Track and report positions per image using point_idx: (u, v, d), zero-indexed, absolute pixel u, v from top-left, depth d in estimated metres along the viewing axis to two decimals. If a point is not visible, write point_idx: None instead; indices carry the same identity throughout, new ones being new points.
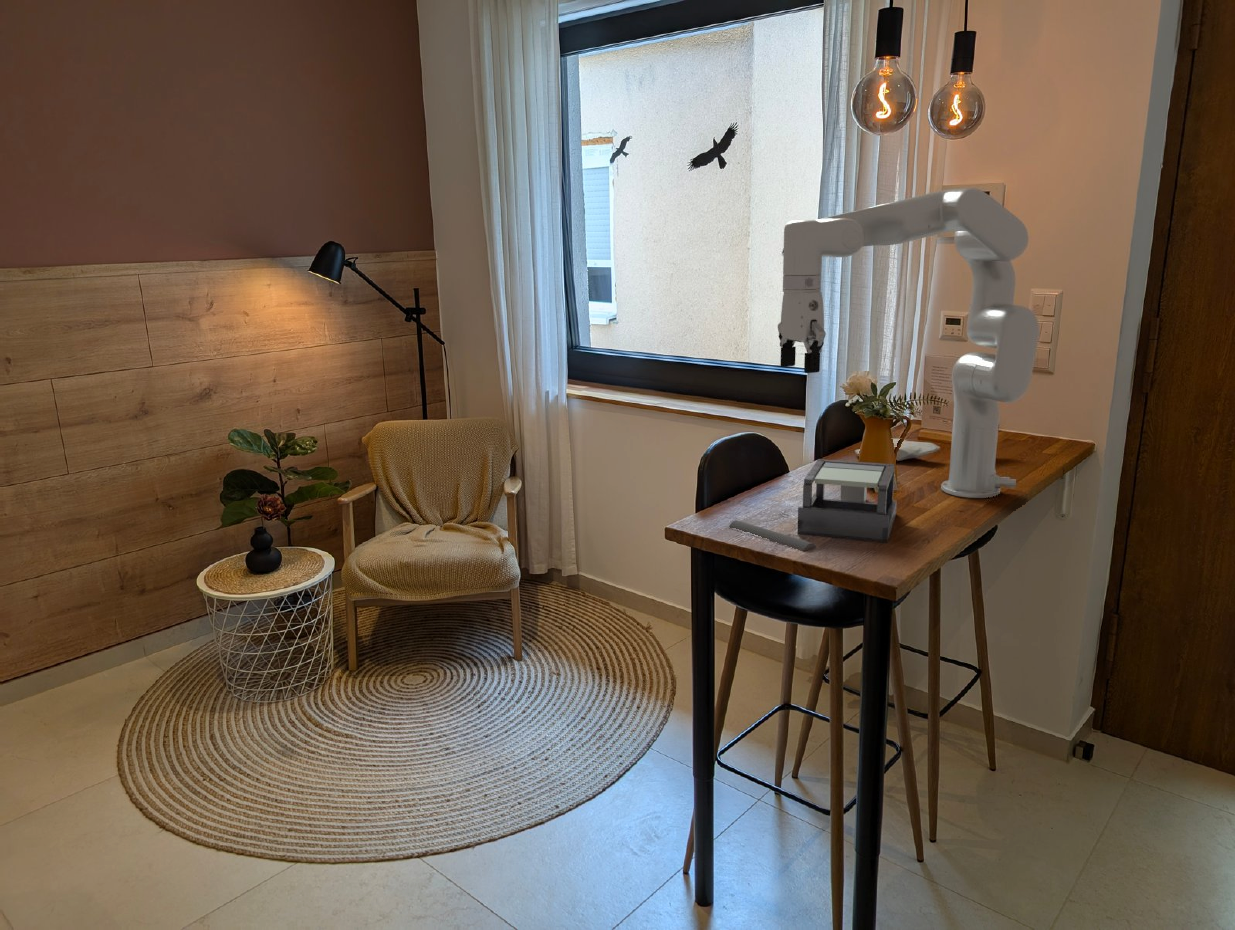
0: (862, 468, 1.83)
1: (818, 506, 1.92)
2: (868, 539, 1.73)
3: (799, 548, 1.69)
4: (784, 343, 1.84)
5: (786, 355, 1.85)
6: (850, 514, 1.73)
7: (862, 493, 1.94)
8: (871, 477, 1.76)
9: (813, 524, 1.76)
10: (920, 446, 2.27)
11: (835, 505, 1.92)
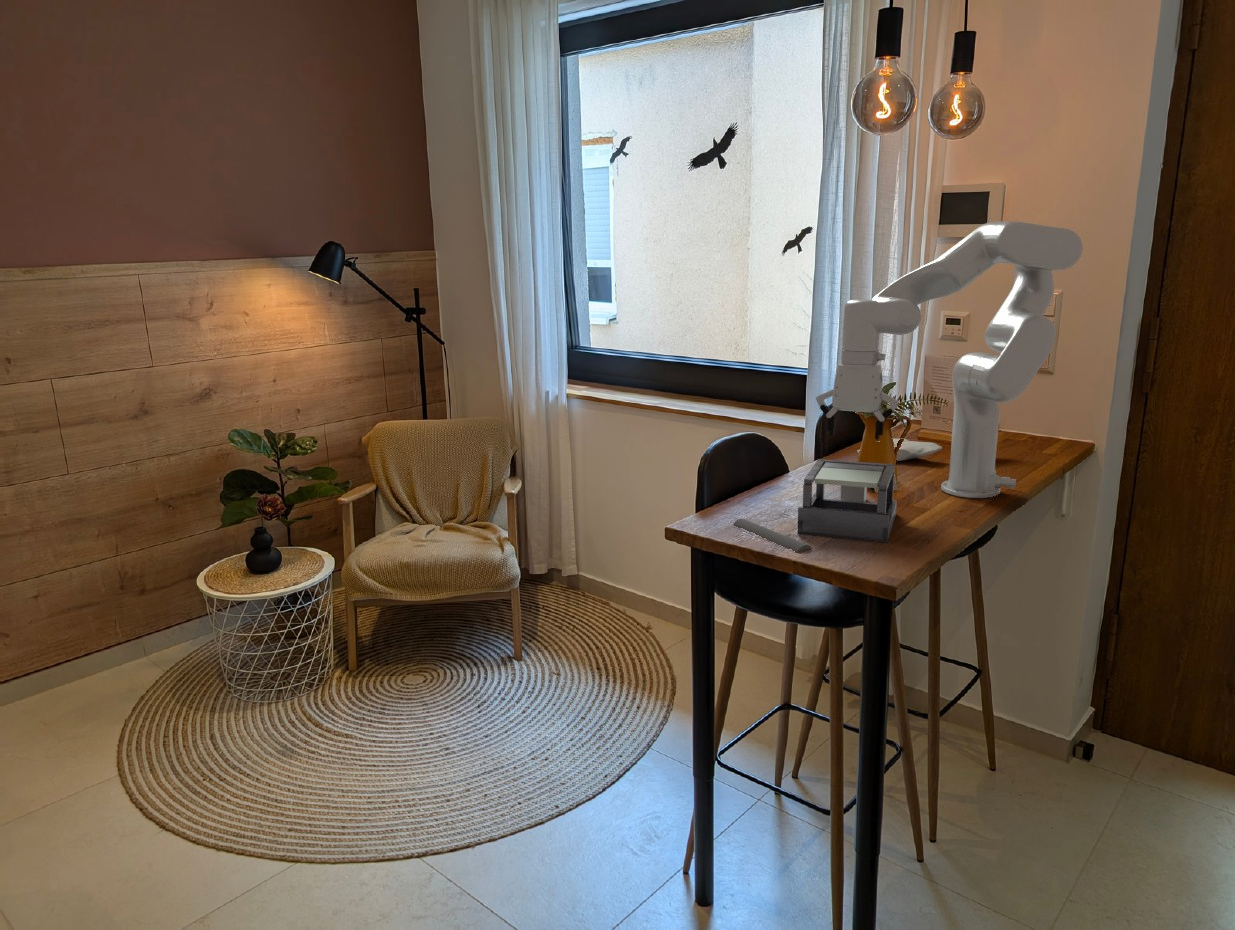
0: (862, 468, 1.83)
1: (818, 506, 1.92)
2: (868, 539, 1.73)
3: (793, 549, 1.68)
4: (833, 414, 1.93)
5: (834, 425, 1.94)
6: (850, 514, 1.73)
7: (862, 493, 1.94)
8: (871, 477, 1.76)
9: (813, 524, 1.76)
10: (922, 446, 2.27)
11: (835, 505, 1.92)
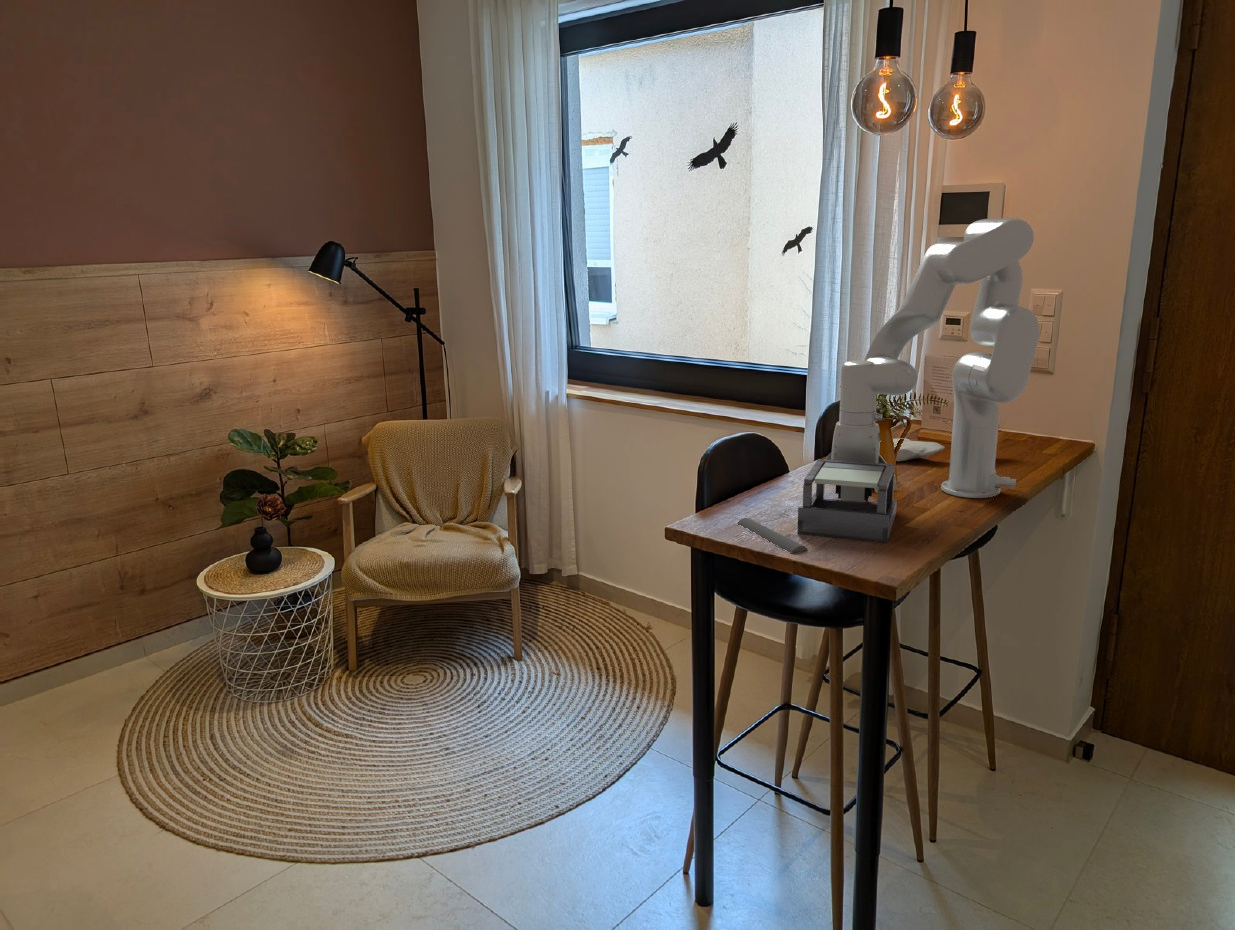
0: (862, 468, 1.83)
1: (818, 506, 1.92)
2: (868, 539, 1.73)
3: (788, 549, 1.68)
4: None
5: None
6: (850, 514, 1.73)
7: (862, 493, 1.94)
8: (871, 477, 1.76)
9: (813, 524, 1.76)
10: (925, 446, 2.27)
11: (835, 505, 1.92)
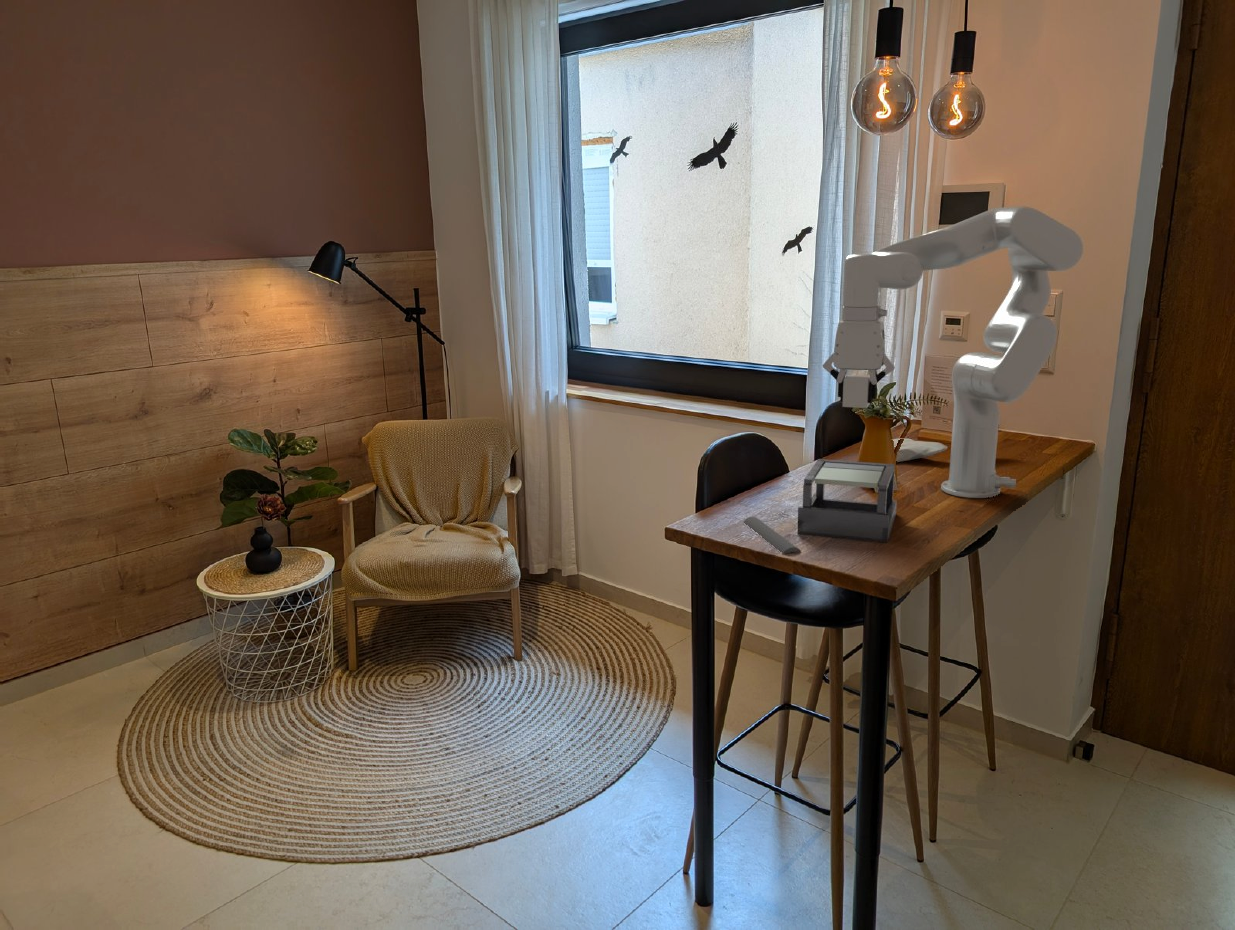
0: (862, 468, 1.83)
1: (818, 506, 1.92)
2: (868, 539, 1.73)
3: (781, 550, 1.68)
4: (843, 377, 1.87)
5: None
6: (850, 514, 1.73)
7: (865, 394, 1.85)
8: (871, 477, 1.76)
9: (813, 524, 1.76)
10: (928, 446, 2.27)
11: (835, 505, 1.92)
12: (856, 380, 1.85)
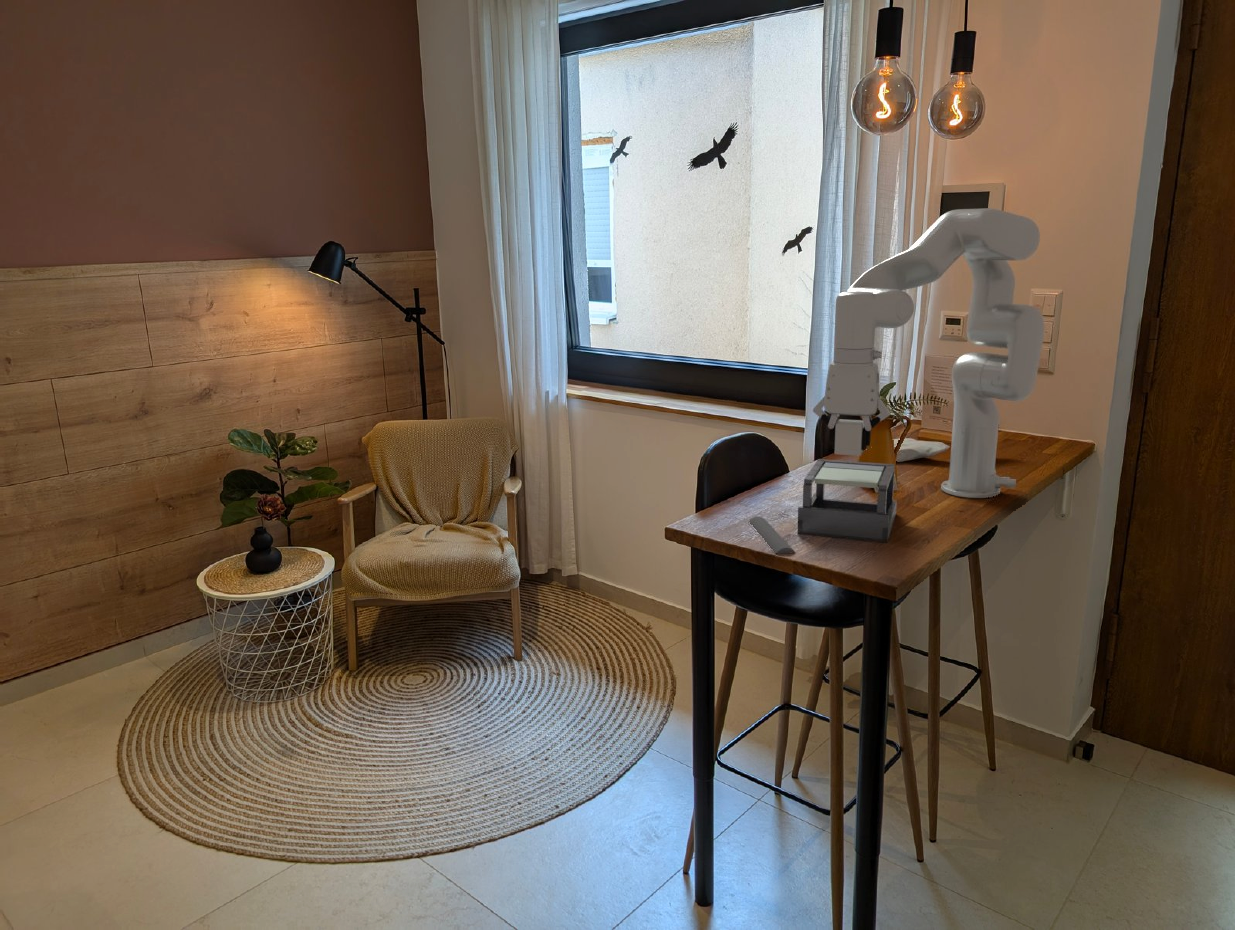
0: (862, 468, 1.83)
1: (818, 506, 1.92)
2: (868, 539, 1.73)
3: (775, 550, 1.68)
4: (835, 422, 1.75)
5: None
6: (850, 514, 1.73)
7: (859, 441, 1.72)
8: (871, 477, 1.76)
9: (813, 524, 1.76)
10: (930, 445, 2.27)
11: (835, 505, 1.92)
12: (849, 426, 1.72)
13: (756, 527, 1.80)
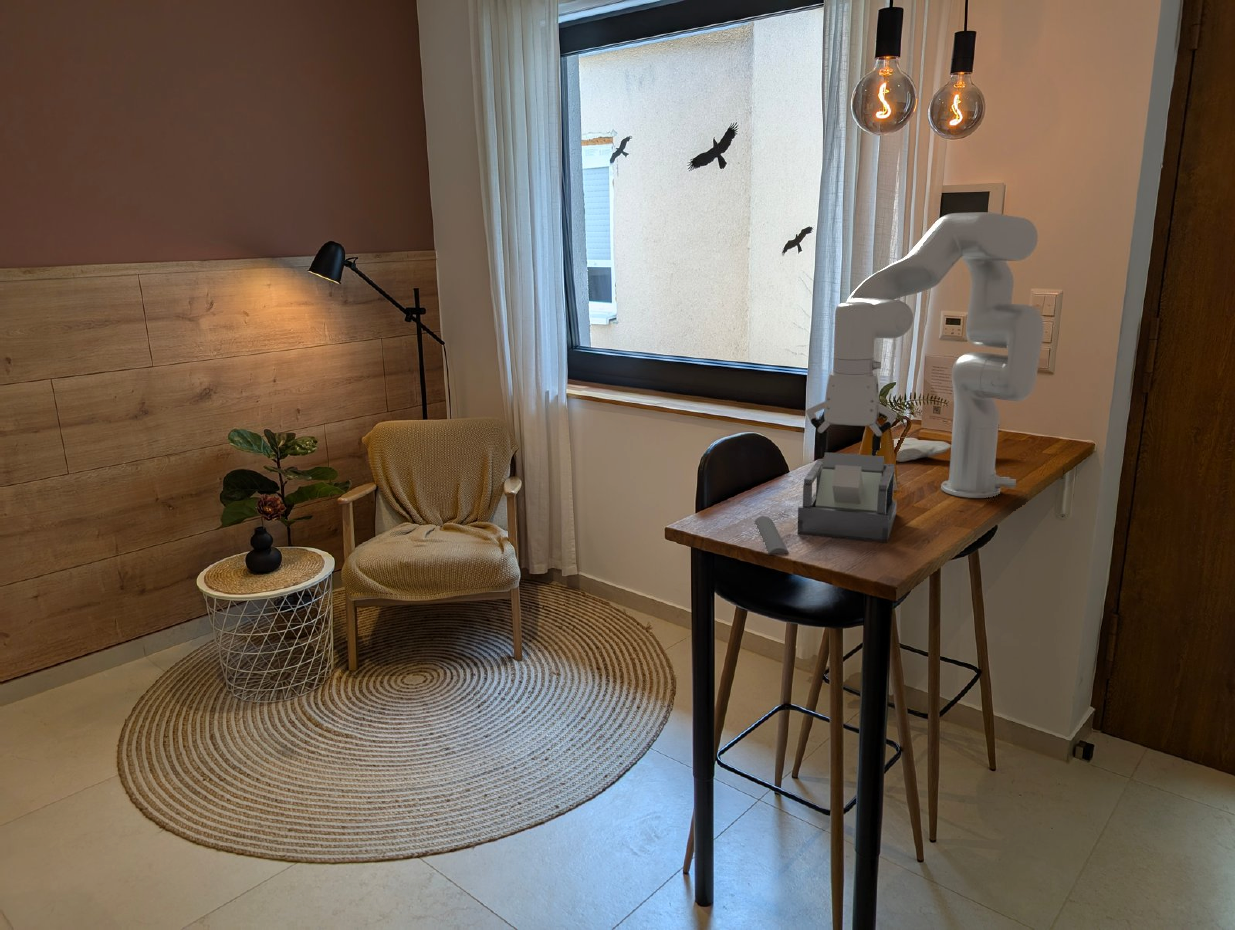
0: (862, 466, 1.82)
1: None
2: (868, 539, 1.73)
3: (768, 550, 1.68)
4: (826, 428, 1.76)
5: (826, 440, 1.77)
6: (850, 514, 1.73)
7: (857, 496, 1.75)
8: (871, 493, 1.78)
9: (813, 524, 1.76)
10: (933, 445, 2.28)
11: None
12: (846, 487, 1.73)
13: (759, 527, 1.81)
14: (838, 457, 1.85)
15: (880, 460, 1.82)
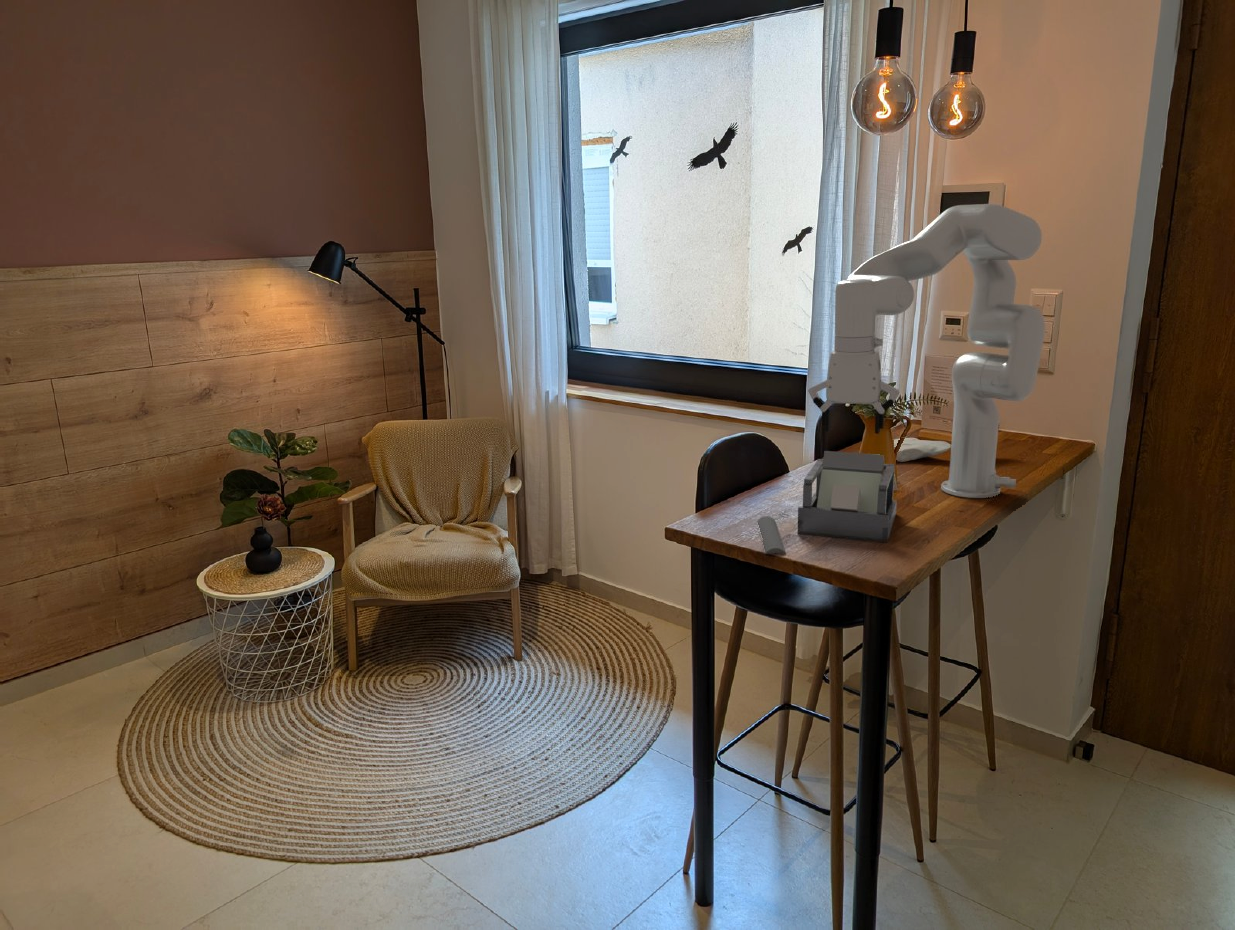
0: (862, 466, 1.82)
1: None
2: (868, 539, 1.73)
3: (765, 550, 1.68)
4: (828, 407, 1.75)
5: (829, 419, 1.76)
6: (850, 514, 1.73)
7: None
8: (871, 496, 1.79)
9: (813, 524, 1.76)
10: (935, 445, 2.28)
11: None
12: (844, 508, 1.73)
13: (760, 527, 1.81)
14: (838, 456, 1.84)
15: (880, 459, 1.81)
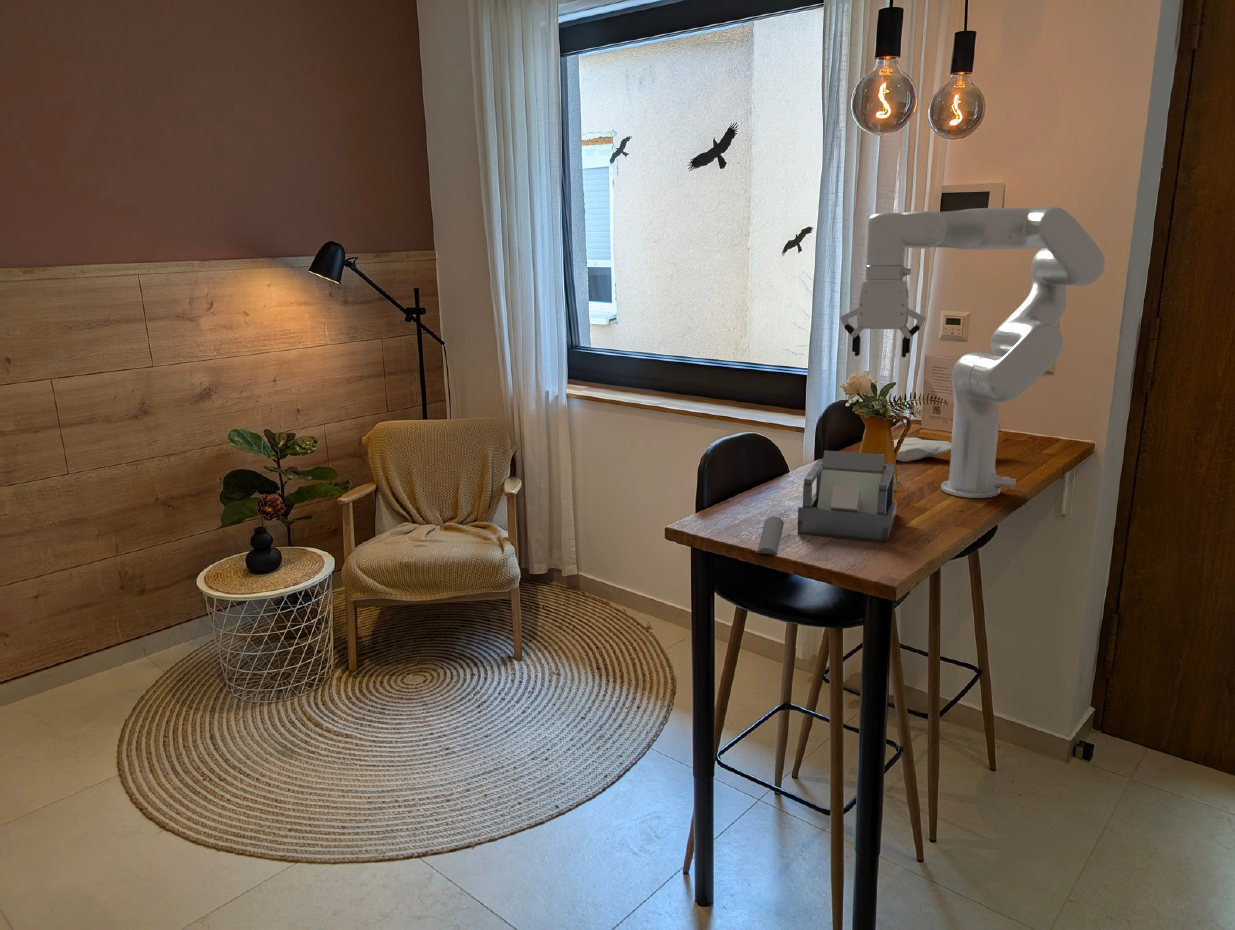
0: (862, 466, 1.82)
1: None
2: (868, 539, 1.73)
3: None
4: (858, 333, 1.89)
5: (859, 345, 1.90)
6: (850, 514, 1.73)
7: None
8: (871, 497, 1.79)
9: (813, 524, 1.76)
10: (938, 445, 2.28)
11: None
12: (844, 508, 1.73)
13: (764, 526, 1.81)
14: (838, 456, 1.84)
15: (880, 459, 1.81)
